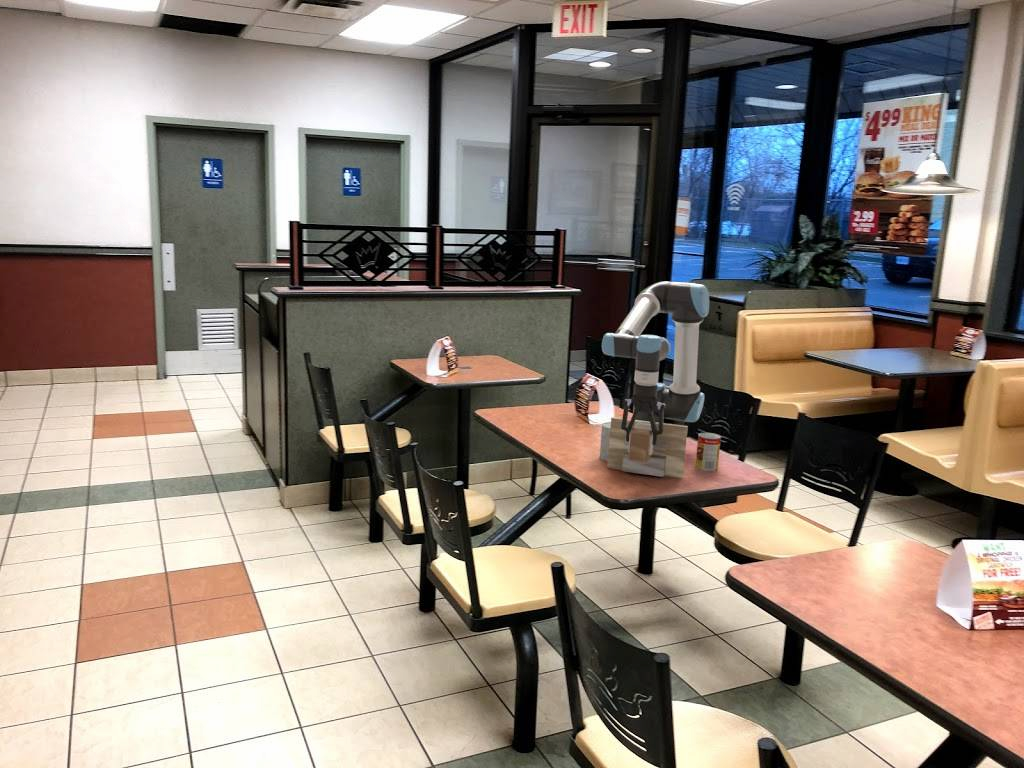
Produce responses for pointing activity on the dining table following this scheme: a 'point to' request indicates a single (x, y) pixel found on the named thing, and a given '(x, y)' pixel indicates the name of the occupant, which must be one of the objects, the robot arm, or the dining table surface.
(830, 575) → the dining table surface
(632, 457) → the upright wooden block
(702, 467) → the canned food
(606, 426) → the grey-green block
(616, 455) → the wall board
